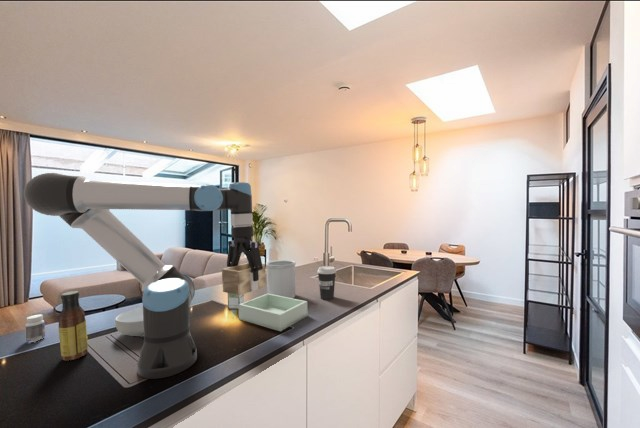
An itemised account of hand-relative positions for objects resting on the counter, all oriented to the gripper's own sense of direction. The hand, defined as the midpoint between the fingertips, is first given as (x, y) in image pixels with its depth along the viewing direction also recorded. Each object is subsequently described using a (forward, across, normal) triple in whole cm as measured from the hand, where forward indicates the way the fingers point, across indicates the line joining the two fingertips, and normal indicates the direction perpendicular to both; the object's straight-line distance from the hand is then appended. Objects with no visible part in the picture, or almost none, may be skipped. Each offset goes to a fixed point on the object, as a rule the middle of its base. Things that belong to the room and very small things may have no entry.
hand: (245, 288), depth 101 cm
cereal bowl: (+15, +32, +20) cm, 41 cm away
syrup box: (+16, +24, -15) cm, 33 cm away
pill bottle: (+14, +58, +44) cm, 74 cm away
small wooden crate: (0, 0, 0) cm, 0 cm away
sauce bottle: (+15, +32, +40) cm, 54 cm away
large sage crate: (+16, +1, -15) cm, 22 cm away
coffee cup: (+17, -4, -48) cm, 51 cm away
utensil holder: (+17, +17, -37) cm, 44 cm away
